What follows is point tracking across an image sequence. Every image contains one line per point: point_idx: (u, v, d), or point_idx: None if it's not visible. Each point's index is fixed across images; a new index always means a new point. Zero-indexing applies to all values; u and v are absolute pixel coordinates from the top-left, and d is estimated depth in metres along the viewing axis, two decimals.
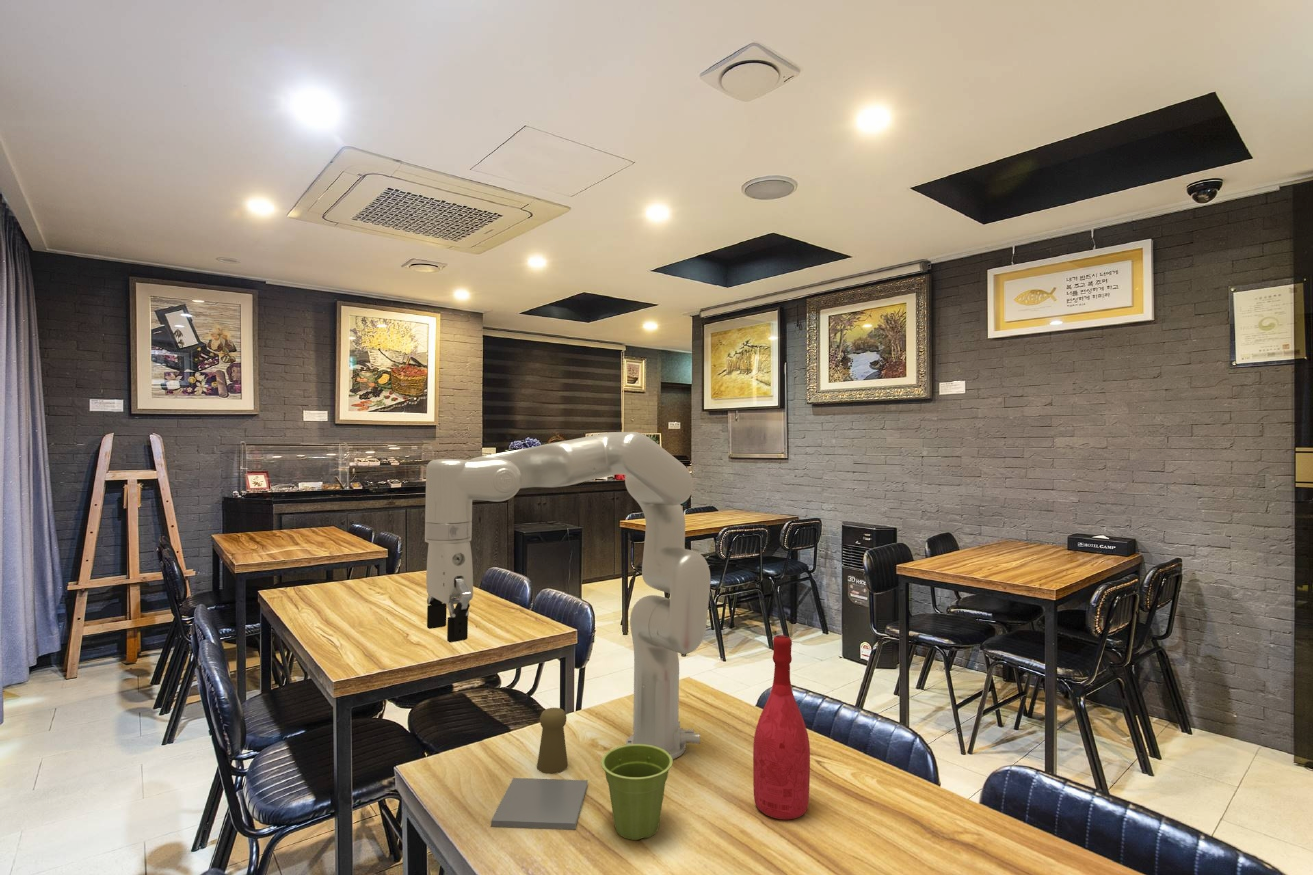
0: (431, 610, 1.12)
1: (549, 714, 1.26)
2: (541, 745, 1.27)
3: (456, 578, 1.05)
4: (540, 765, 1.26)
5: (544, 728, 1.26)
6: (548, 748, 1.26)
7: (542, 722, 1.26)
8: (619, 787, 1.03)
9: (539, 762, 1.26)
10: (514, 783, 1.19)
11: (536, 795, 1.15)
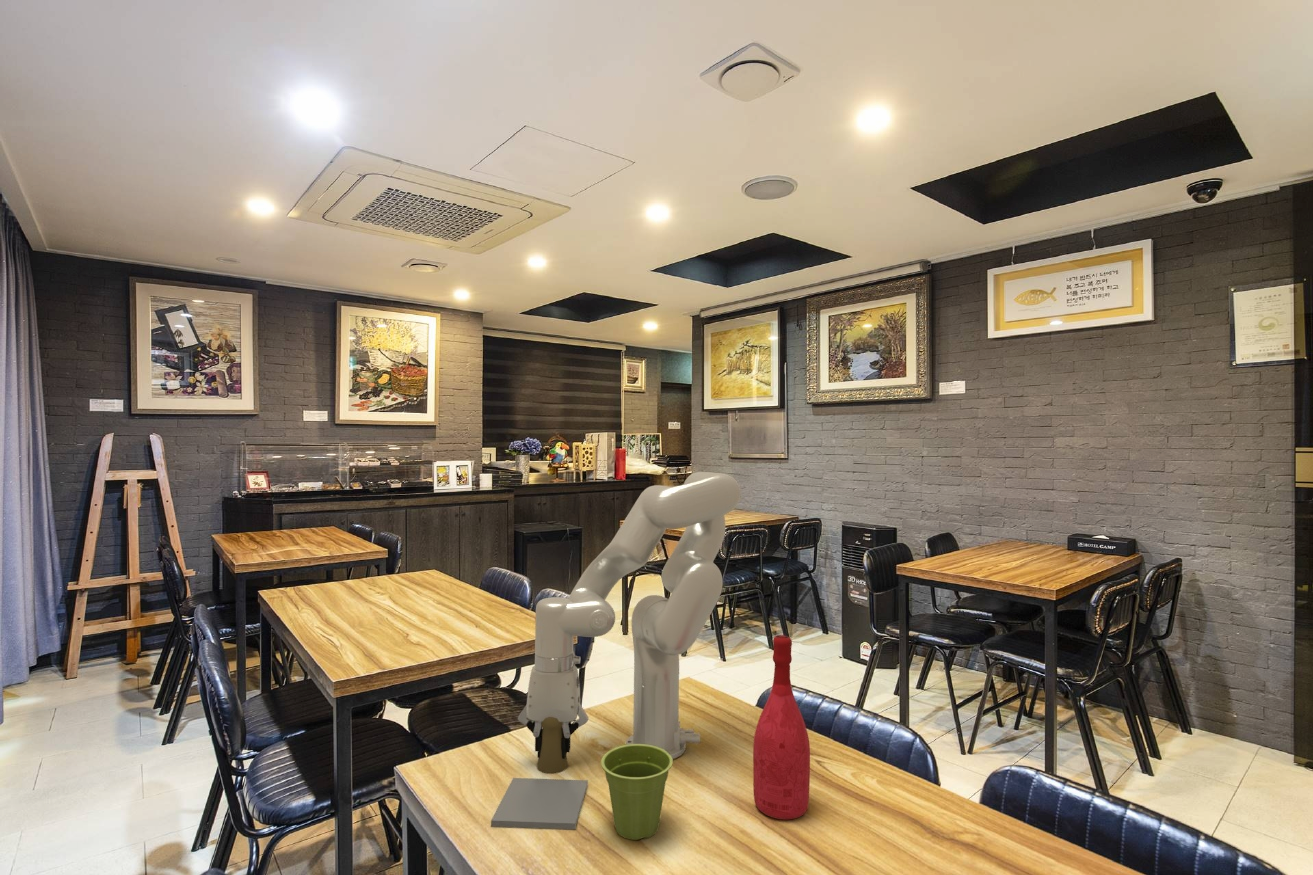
0: (541, 741, 1.27)
1: None
2: (541, 745, 1.27)
3: None
4: (540, 765, 1.26)
5: (544, 728, 1.26)
6: (548, 748, 1.26)
7: (542, 722, 1.26)
8: (619, 787, 1.03)
9: (539, 762, 1.26)
10: (514, 783, 1.19)
11: (536, 795, 1.15)
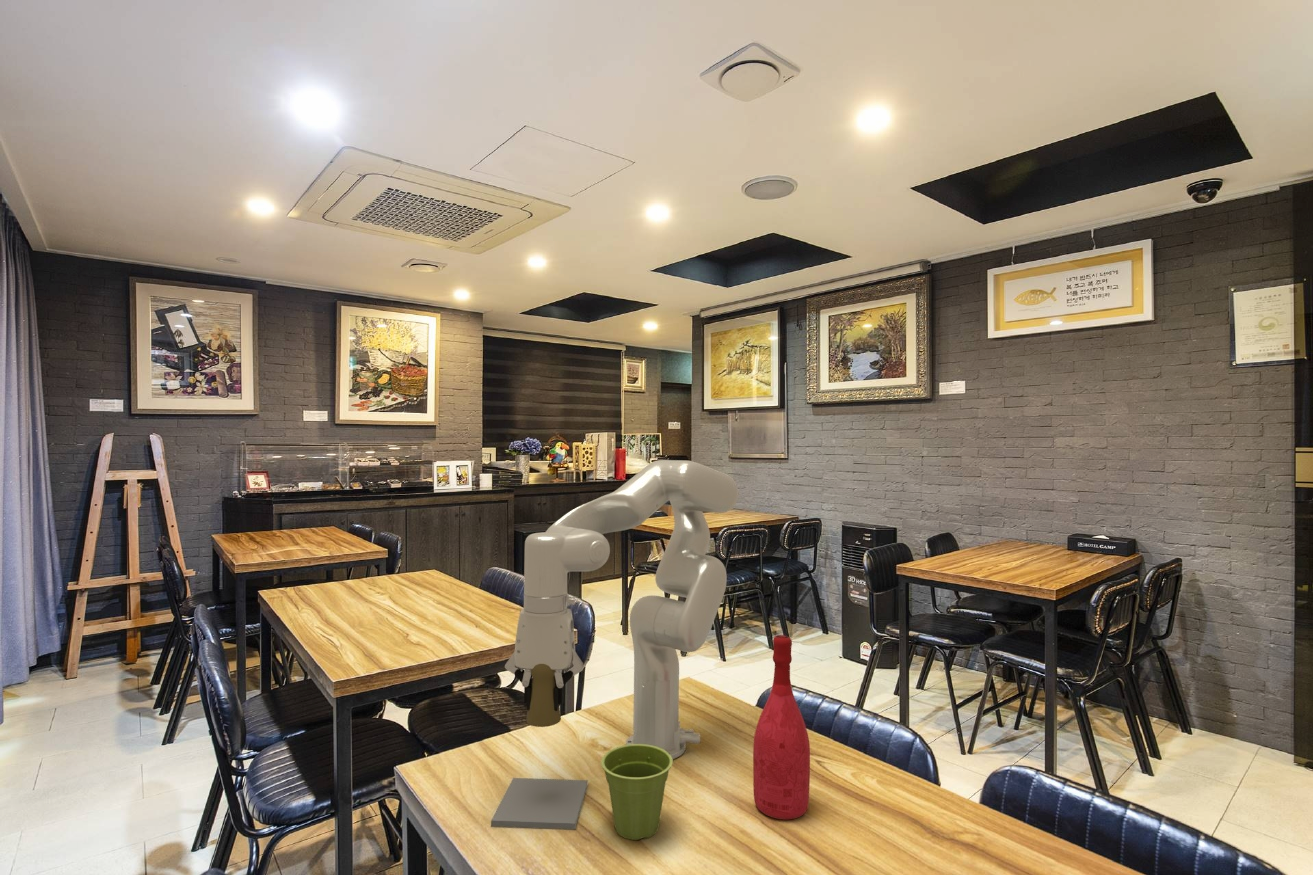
0: (531, 691, 1.13)
1: None
2: (531, 696, 1.13)
3: None
4: (530, 718, 1.12)
5: (534, 676, 1.13)
6: (538, 699, 1.12)
7: (532, 670, 1.13)
8: (619, 787, 1.03)
9: (528, 714, 1.13)
10: (514, 783, 1.19)
11: (536, 795, 1.15)
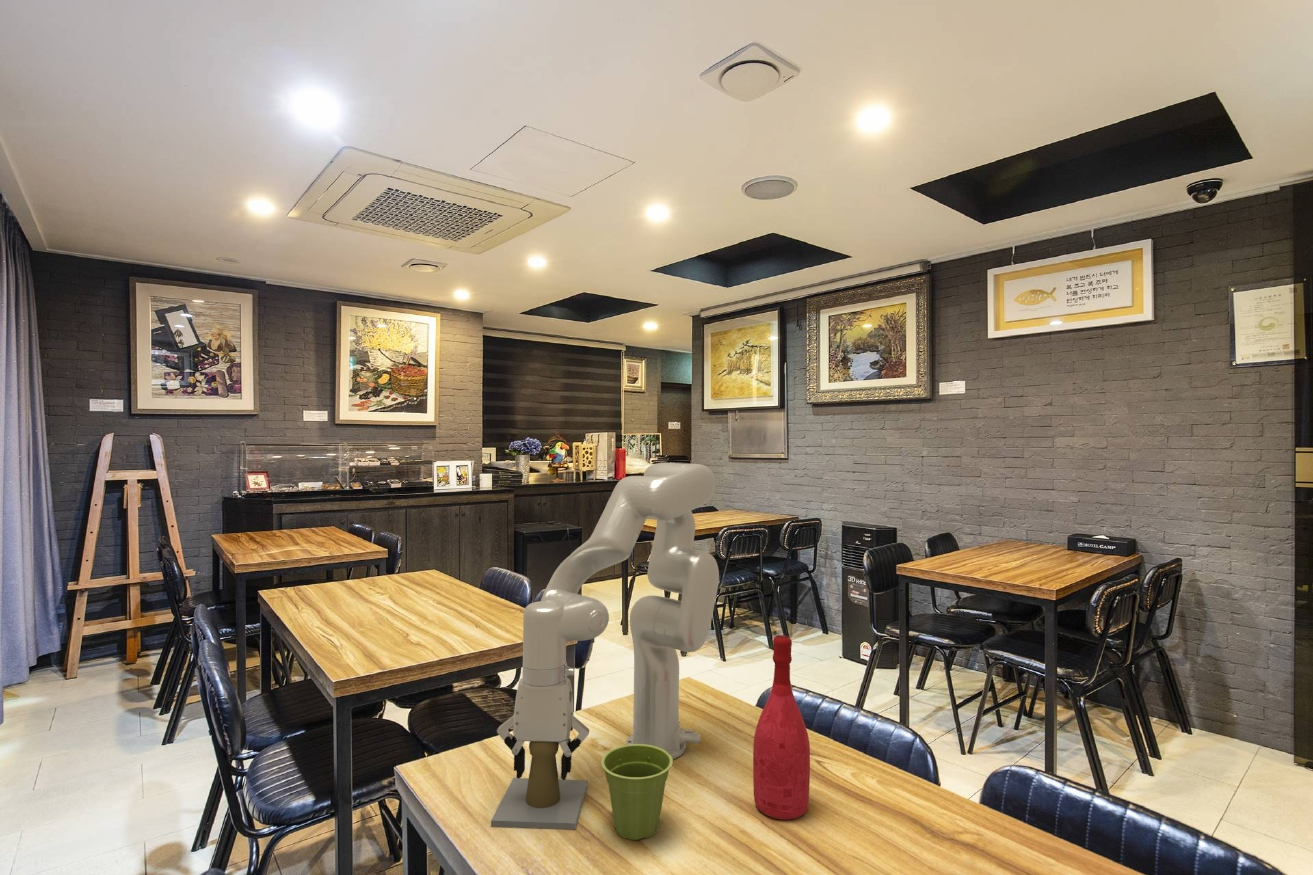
0: (521, 759, 1.13)
1: None
2: (530, 775, 1.13)
3: (571, 716, 1.14)
4: (529, 798, 1.12)
5: (534, 757, 1.12)
6: (538, 779, 1.12)
7: (531, 750, 1.12)
8: (619, 787, 1.03)
9: (528, 795, 1.12)
10: (514, 783, 1.19)
11: None
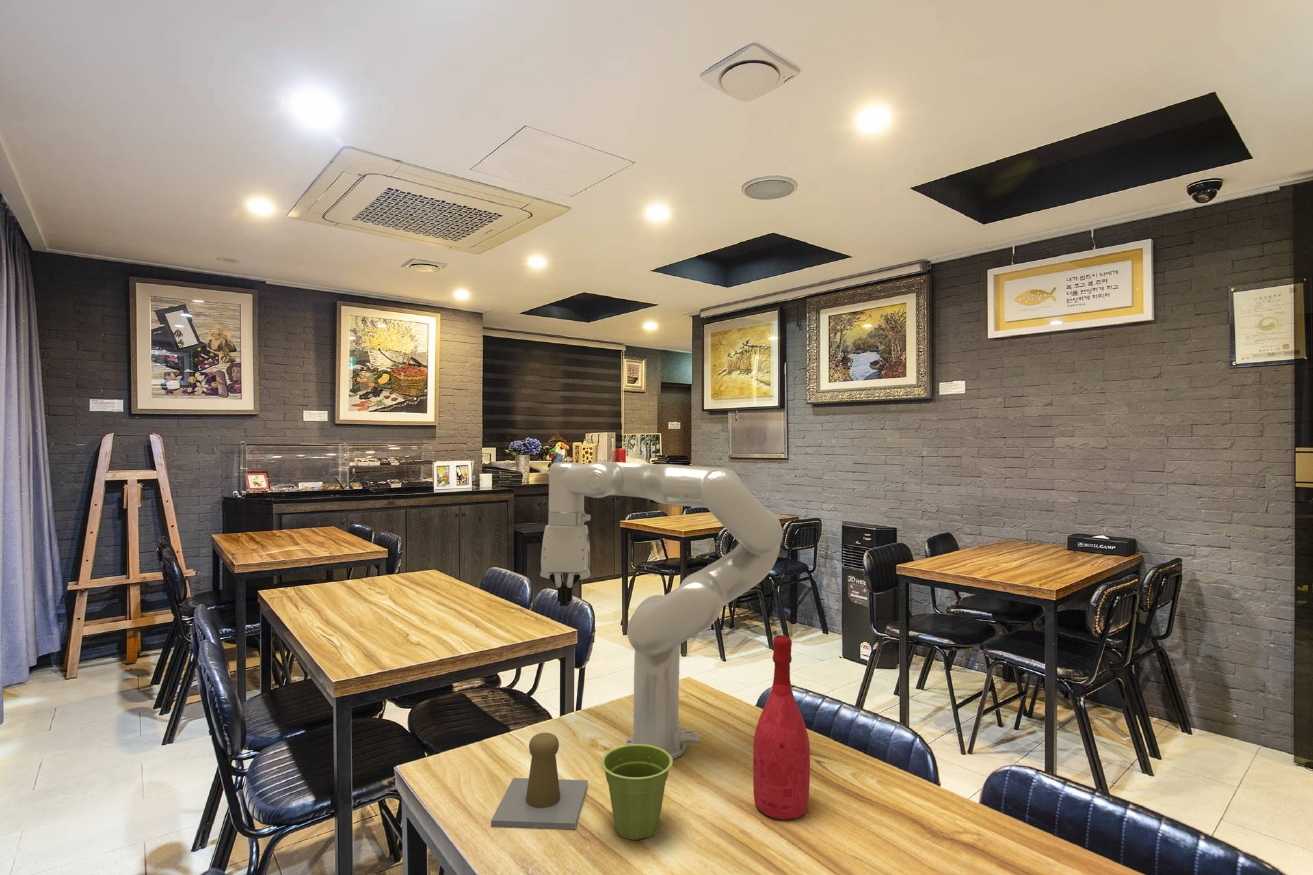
0: None
1: (539, 741, 1.13)
2: (530, 775, 1.13)
3: None
4: (529, 798, 1.12)
5: (534, 756, 1.12)
6: (538, 779, 1.12)
7: (531, 750, 1.12)
8: (619, 787, 1.03)
9: (528, 795, 1.12)
10: (514, 783, 1.19)
11: None
